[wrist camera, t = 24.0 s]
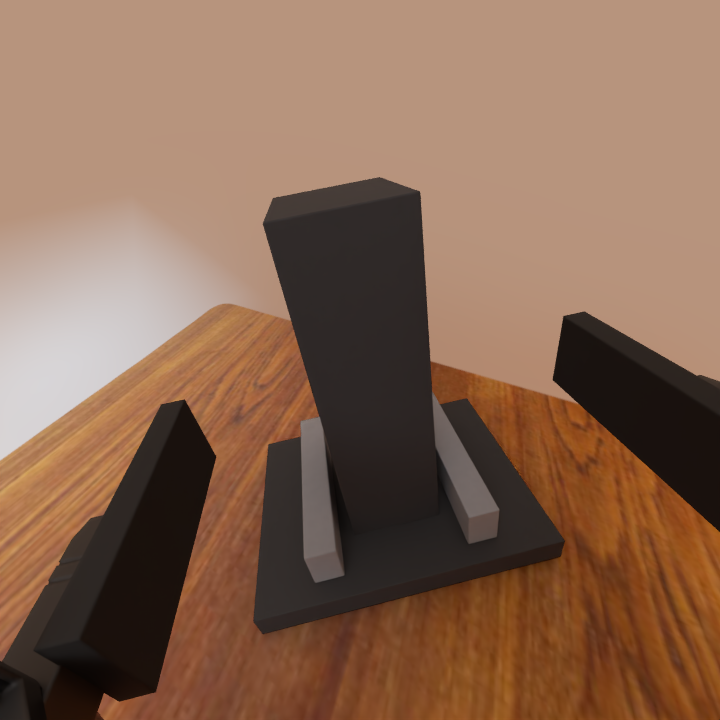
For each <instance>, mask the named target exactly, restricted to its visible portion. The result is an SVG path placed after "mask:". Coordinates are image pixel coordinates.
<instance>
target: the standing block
mask: <svg viewBox="0 0 720 720" xmlns="http://www.w3.org/2000/svg"><path fill="white" fill-rule="evenodd" d="M263 226H264V229H265V233H266V236H267V240H268V243H269V246H270V250H271V253H272V257H273V260H274V263H275V267H276V270H277V273H278V277H279V281H280V284H281V287H282V290H283V294H284V298H285V301H286V304H287V308H288V311H289V314H290V318H291V321H292V325H293V328H294V332H295V335H296V338H297V342H298V345H299V349H300V352H301V355H302V359H303V362H304V366H305V369H306V373H307V376H308V379H309V383H310V386H311V390H312V393H313V396H314V400H315V403H316V407H317V410H318V413H319V417H320V420H321V424H322V427H323V430H324V434H325V437H326V441H327V444H328V447H329V451H330V454H331V458H332V461H333V464H334V468H335V471H336V475H337V478H338V482H339V485H340V488H341V492H342V495H343V499H344V502H345V505H346V509H347V512H348V516H349V519H350V522H351V526H352V529H353V533H354V535H359V534H363V533H367V532H371V531H375V530H379V529H383V528H387V527H391V526H395V525H399V524H403V523H407V522H411V521H415V520H419V519H423V518H427V517H431V516H435V515H439V499H438V482H437V465H436V449H435V432H434V415H433V398H432V381H431V365H430V348H429V331H428V314H427V297H426V281H425V265H424V247H423V230H422V214H421V196H420V191H417V190H414V189H411V188H408V187H405V186H403V185H400V184H397V183H394V182H391V181H388V180H386V179H383V178H380V177H379V178H373V179H368V180H363V181H358V182H353V183H348V184H343V185H338V186H333V187H328V188H323V189H317V190H312V191H307V192H302V193H297V194H292V195H287V196H282V197H276V198H273V199H272V202H271V205H270V207H269V210H268V212H267V214H266V217H265V219H264V222H263Z"/></svg>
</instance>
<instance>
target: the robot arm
mask: <svg viewBox="0 0 720 720" xmlns="http://www.w3.org/2000/svg"><path fill="white" fill-rule="evenodd" d="M553 381H555V382H556V383H557V384H558V385H559V386H560V387H561V388H562V389H563V390H564V391H565V392H567V393H568V394H569V395H570V396H571V397H572V398H573V399H574V400H575V401H576V402H578V403H579V404H580V405H581V406H582V407H583V408H584V409H585V410H586V411H587V412H589V413H590V414H591V415H592V416H593V417H594V418H595V419H596V420H597V421H598V422H600V423H601V424H602V425H603V426H604V427H605V428H606V429H607V430H608V431H609V432H611V433H612V434H613V435H614V436H615V437H616V438H617V439H618V440H619V441H620V442H621V443H623V444H624V445H625V446H626V447H627V448H628V449H629V450H630V451H631V452H632V453H634V454H635V455H636V456H637V457H638V458H639V459H640V460H641V461H642V462H643V463H645V464H646V465H647V466H648V467H649V468H650V469H651V470H652V471H653V472H654V473H656V474H657V475H658V476H659V477H660V478H661V479H662V480H663V481H664V482H665V483H667V484H668V485H669V486H670V487H671V488H672V489H673V490H674V491H675V492H676V493H678V494H679V495H680V496H681V497H682V498H683V499H684V500H685V501H686V502H687V503H689V504H690V505H691V506H692V507H693V508H694V509H695V510H696V511H697V512H698V513H700V514H701V515H702V516H703V517H704V518H705V519H706V520H707V521H708V522H709V523H711V524H712V525H713V526H714V527H715V528H716V529H717V530H718V531H719V532H720V382H719V381H716V380H714V379H710V378H708V377H705V376H702V375H699V376H696V375H694V374H693V373H691V372H689V371H687V370H686V369H684V368H682V367H680V366H679V365H677V364H675V363H673V362H672V361H670V360H668V359H666V358H665V357H663V356H661V355H660V354H658V353H656V352H654V351H653V350H651V349H649V348H647V347H646V346H644V345H642V344H640V343H639V342H637V341H635V340H633V339H631V338H630V337H628V336H626V335H625V334H623V333H621V332H619V331H618V330H616V329H614V328H612V327H610V326H609V325H607V324H605V323H604V322H602V321H600V320H598V319H597V318H595V317H593V316H591V315H590V314H588V313H586V312H580V313H576V314H571V315H567V316H564V317H563V323H562V328H561V334H560V340H559V346H558V352H557V358H556V364H555V369H554V375H553ZM215 460H216V455H215V454H214V452H213V450H212V448H211V446H210V444H209V443H208V441H207V439H206V437H205V435H204V434H203V432H202V430H201V428H200V426H199V424H198V423H197V421H196V419H195V417H194V415H193V414H192V412H191V410H190V408H189V406H188V405H187V403H186V401H185V399H184V400H180V401H175V402H171V403H166V404H162V405H161V406H160V408H159V410H158V412H157V414H156V416H155V418H154V420H153V422H152V423H151V425H150V427H149V429H148V431H147V433H146V435H145V437H144V439H143V441H142V443H141V445H140V446H139V448H138V450H137V452H136V454H135V456H134V458H133V460H132V462H131V464H130V466H129V468H128V469H127V471H126V473H125V475H124V477H123V479H122V481H121V483H120V485H119V487H118V489H117V491H116V492H115V494H114V496H113V498H112V500H111V502H110V504H109V506H108V508H107V510H106V512H105V514H104V515H102V516H98V517H94V518H91V519H90V520H89V521H88V522H87V523H86V524H85V525H84V526H83V528H82V529H81V530H80V531H79V532H78V533H77V534H76V535H75V536H74V537H73V539H72V540H71V542H70V544H69V545H68V547H67V549H66V551H65V552H64V554H63V556H62V558H61V559H60V561H59V562H60V564H59V566H56V568H55V570H54V572H53V573H52V575H51V577H50V579H49V580H48V581H49V584H48V585H46V586H45V587H44V589H43V591H42V593H41V594H40V596H39V598H38V600H37V601H36V603H35V605H34V607H33V608H32V610H31V612H30V614H29V615H28V617H27V619H26V621H25V622H24V624H23V626H22V628H21V629H20V631H19V633H18V635H17V636H16V638H15V640H14V642H13V643H12V645H11V647H10V649H9V650H8V652H7V654H6V656H5V658H4V659H3V661H2V662H1V661H0V720H104V719H103V718H102V717H101V716H100V714H99V713H98V712H97V711H98V708H99V705H100V703H101V700H102V697H103V694H104V693H105V694H107V695H109V696H111V697H112V698H114V699H116V700H117V701H119V702H120V701H123V700H127V699H131V698H135V697H139V696H143V695H147V694H150V693H154V692H156V689H157V686H158V682H159V678H160V674H161V670H162V666H163V662H164V658H165V654H166V651H167V647H168V643H169V639H170V635H171V631H172V627H173V623H174V619H175V615H176V612H177V608H178V604H179V600H180V596H181V592H182V588H183V584H184V580H185V577H186V573H187V569H188V565H189V561H190V557H191V553H192V549H193V545H194V541H195V538H196V534H197V530H198V526H199V522H200V518H201V514H202V510H203V506H204V503H205V499H206V495H207V491H208V487H209V483H210V479H211V475H212V471H213V468H214V464H215Z"/></svg>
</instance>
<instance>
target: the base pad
mask: <svg viewBox="0 0 720 720" xmlns="http://www.w3.org/2000/svg"><path fill="white" fill-rule="evenodd" d="M432 398H433V415H434V432H435V449H436V465H437V482H438V499H439V515H435V516H431V517H427V518H423V519H419V520H415V521H411V522H407V523H403V524H399V525H395V526H391V527H387V528H383V529H379V530H375V531H371V532H367V533H363V534H359V535H354V533H353V529H352V526H351V522H350V519H349V516H348V512H347V509H346V505H345V502H344V499H343V495H342V492H341V488H340V485H339V482H338V478H337V475H336V471H335V468H334V464H333V461H332V458H331V454H330V451H329V447H328V444H327V441H326V437H325V434H324V430H323V427H322V424H321V420H320V417H316V418H312V419H308V420H303V421H301V437H298V438H294V439H290V440H285V441H281V442H277V443H272V444H269V445H268V456H267V468H266V479H265V491H264V503H263V515H262V526H261V538H260V550H259V562H258V573H257V585H256V597H255V609H254V620H253V621H254V623H255V624H256V626H257V627H258V628H259V630H260V631H261V632H262V634H264V633H268V632H272V631H276V630H280V629H284V628H287V627H291V626H295V625H299V624H303V623H307V622H310V621H314V620H318V619H322V618H326V617H330V616H333V615H337V614H341V613H345V612H349V611H353V610H356V609H360V608H364V607H368V606H372V605H376V604H379V603H383V602H387V601H391V600H395V599H399V598H402V597H406V596H410V595H414V594H418V593H422V592H425V591H429V590H433V589H437V588H441V587H445V586H449V585H452V584H456V583H460V582H464V581H468V580H472V579H475V578H479V577H483V576H487V575H491V574H495V573H498V572H502V571H506V570H510V569H514V568H518V567H521V566H525V565H529V564H533V563H537V562H541V561H544V560H548V559H552V558H556V557H560V556H561V553H562V549H563V546H564V542H565V541H564V539H563V538H562V536H561V535H560V533H559V532H558V530H557V529H556V527H555V526H554V524H553V523H552V522H551V520H550V519H549V517H548V516H547V514H546V513H545V511H544V510H543V508H542V507H541V506H540V504H539V503H538V501H537V500H536V498H535V497H534V495H533V494H532V492H531V491H530V490H529V488H528V487H527V485H526V484H525V482H524V481H523V479H522V478H521V476H520V475H519V474H518V472H517V471H516V469H515V468H514V466H513V465H512V463H511V462H510V460H509V459H508V458H507V456H506V455H505V453H504V452H503V450H502V449H501V447H500V446H499V444H498V443H497V442H496V440H495V439H494V437H493V436H492V434H491V433H490V431H489V430H488V428H487V427H486V426H485V424H484V423H483V421H482V420H481V418H480V417H479V415H478V414H477V412H476V411H475V410H474V408H473V407H472V405H471V404H470V402H469V401H468V399H467V398H466V399H462V400H457V401H453V402H449V403H445V404H439V402H438V401H437V399H436V397H435V395H434V393H433V392H432Z"/></svg>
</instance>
